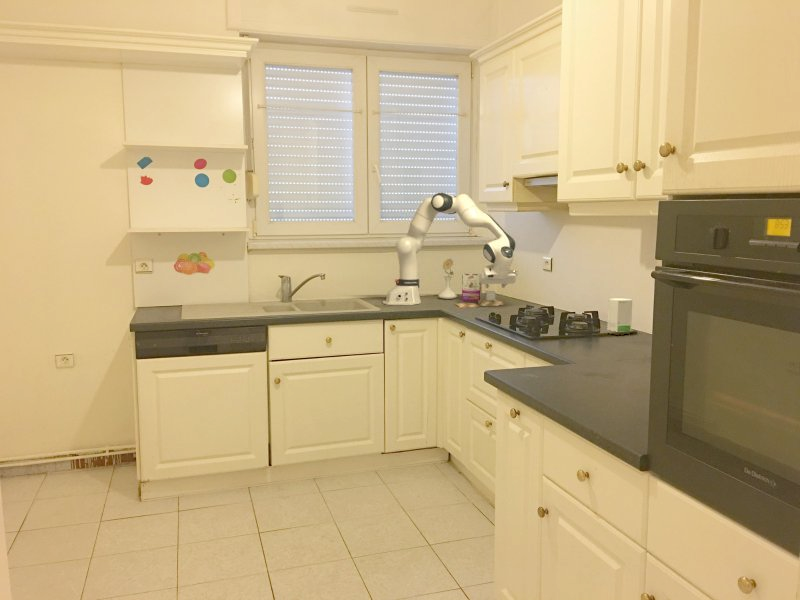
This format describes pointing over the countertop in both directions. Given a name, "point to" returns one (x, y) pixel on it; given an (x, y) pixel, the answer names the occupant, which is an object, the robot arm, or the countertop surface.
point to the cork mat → (467, 305)
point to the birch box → (490, 303)
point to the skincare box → (619, 314)
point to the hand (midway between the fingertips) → (494, 286)
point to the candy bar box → (471, 287)
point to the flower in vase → (448, 281)
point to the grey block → (490, 296)
